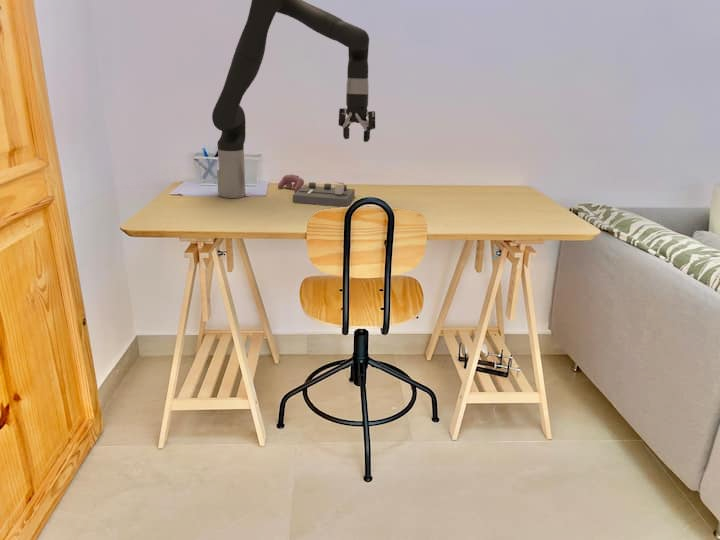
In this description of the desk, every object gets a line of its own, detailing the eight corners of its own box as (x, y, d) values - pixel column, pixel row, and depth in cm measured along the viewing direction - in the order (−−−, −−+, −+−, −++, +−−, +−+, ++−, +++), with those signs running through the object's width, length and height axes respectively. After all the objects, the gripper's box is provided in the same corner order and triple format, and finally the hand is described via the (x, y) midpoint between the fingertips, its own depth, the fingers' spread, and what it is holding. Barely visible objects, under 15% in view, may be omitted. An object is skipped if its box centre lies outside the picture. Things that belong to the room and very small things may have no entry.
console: (292, 202, 201) (292, 190, 199) (304, 192, 215) (304, 180, 213) (346, 206, 198) (347, 194, 196) (354, 196, 212) (354, 184, 211)
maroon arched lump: (302, 195, 217) (307, 178, 218) (295, 191, 213) (300, 174, 214) (282, 191, 222) (287, 174, 222) (276, 187, 218) (280, 171, 218)
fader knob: (334, 194, 201) (335, 183, 199) (337, 191, 205) (337, 181, 203) (341, 194, 200) (341, 184, 199) (343, 191, 204) (344, 181, 203)
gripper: (334, 91, 190) (333, 139, 196) (368, 94, 182) (366, 143, 188) (347, 90, 195) (346, 137, 202) (380, 93, 188) (378, 141, 194)
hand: (356, 140), depth 195 cm, fingers open, 8 cm apart
